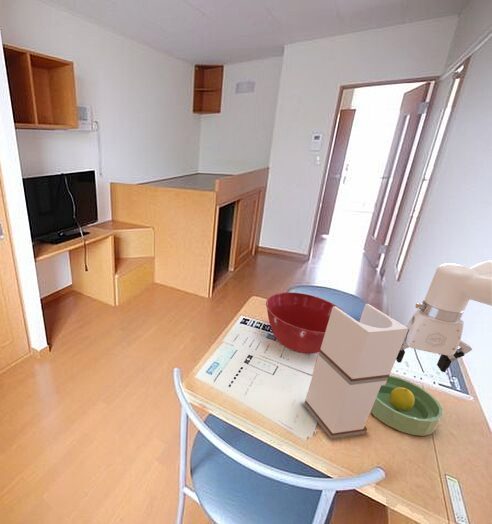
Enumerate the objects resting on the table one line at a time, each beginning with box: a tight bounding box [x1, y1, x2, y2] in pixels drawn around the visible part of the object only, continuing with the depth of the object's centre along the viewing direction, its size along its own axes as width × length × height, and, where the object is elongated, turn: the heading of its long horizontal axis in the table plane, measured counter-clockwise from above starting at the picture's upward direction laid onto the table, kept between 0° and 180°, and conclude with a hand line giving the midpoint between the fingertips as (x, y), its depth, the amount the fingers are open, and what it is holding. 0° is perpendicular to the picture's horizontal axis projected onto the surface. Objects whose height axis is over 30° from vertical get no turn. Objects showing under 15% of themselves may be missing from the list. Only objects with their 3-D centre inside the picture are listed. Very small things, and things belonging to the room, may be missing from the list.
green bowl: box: [370, 374, 444, 437], centre depth 91 cm, size 18×18×6 cm
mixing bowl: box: [265, 291, 345, 355], centre depth 119 cm, size 28×28×16 cm
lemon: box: [389, 387, 415, 411], centre depth 90 cm, size 6×6×8 cm
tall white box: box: [303, 303, 409, 439], centre depth 82 cm, size 11×11×35 cm
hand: (418, 364), depth 85 cm, fingers open, 9 cm apart
